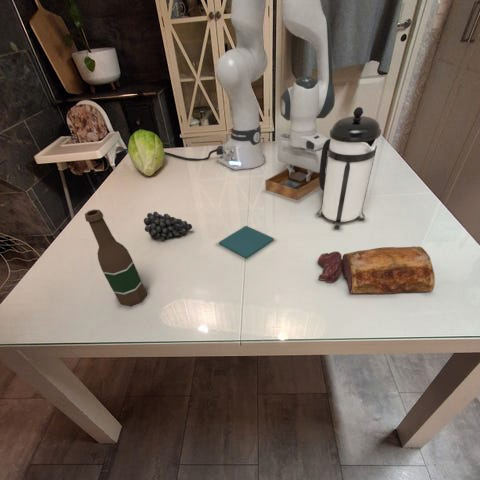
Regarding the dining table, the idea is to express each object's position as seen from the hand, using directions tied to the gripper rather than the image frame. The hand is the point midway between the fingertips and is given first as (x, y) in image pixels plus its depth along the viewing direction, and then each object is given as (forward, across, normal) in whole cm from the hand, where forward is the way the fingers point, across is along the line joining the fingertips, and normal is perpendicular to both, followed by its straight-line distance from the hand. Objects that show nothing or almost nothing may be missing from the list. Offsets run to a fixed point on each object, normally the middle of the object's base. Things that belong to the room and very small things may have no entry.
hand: (299, 178), depth 113 cm
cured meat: (+2, +47, -31) cm, 56 cm away
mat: (+2, +12, -41) cm, 43 cm away
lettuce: (+4, -66, -27) cm, 72 cm away
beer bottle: (+3, +7, -78) cm, 78 cm away
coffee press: (+2, +25, -11) cm, 27 cm away
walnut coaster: (+1, 0, 0) cm, 1 cm away
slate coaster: (+2, +1, -6) cm, 7 cm away
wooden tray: (+2, +1, -3) cm, 4 cm away
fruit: (+3, -9, -54) cm, 55 cm away
